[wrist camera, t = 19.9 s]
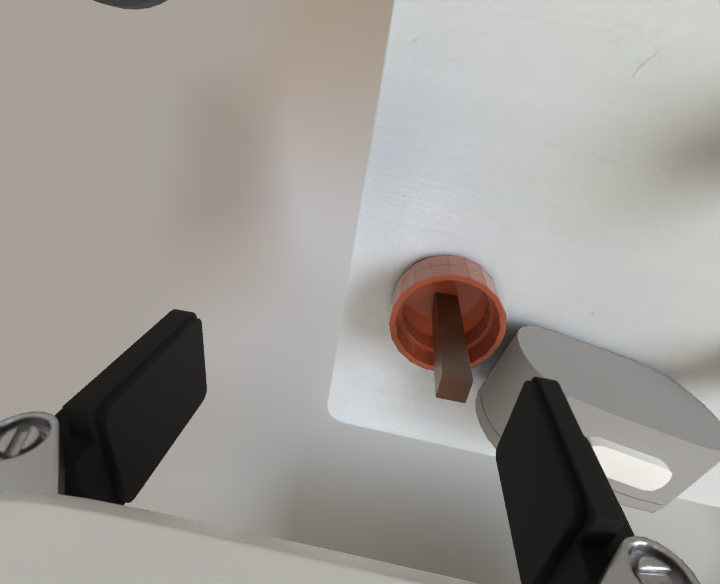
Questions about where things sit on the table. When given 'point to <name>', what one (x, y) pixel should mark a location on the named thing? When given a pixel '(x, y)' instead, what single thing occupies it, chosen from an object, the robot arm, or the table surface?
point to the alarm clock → (611, 414)
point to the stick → (450, 350)
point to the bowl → (475, 300)
